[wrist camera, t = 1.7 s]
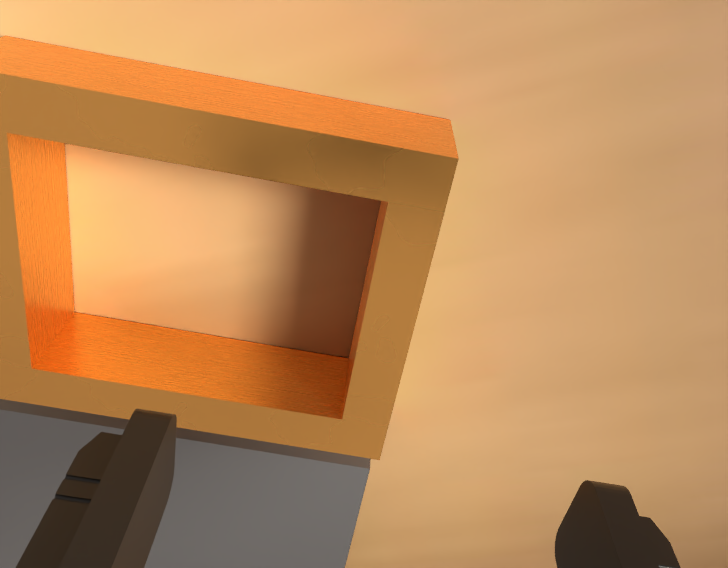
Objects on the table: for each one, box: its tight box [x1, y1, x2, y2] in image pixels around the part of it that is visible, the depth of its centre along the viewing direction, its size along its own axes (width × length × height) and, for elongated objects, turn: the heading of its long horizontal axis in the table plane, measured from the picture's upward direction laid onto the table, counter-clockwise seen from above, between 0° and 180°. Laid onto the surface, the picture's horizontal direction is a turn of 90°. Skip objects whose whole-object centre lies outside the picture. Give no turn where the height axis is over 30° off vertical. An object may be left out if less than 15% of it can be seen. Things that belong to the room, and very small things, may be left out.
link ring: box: [0, 36, 458, 460], centre depth 19 cm, size 12×10×3 cm
